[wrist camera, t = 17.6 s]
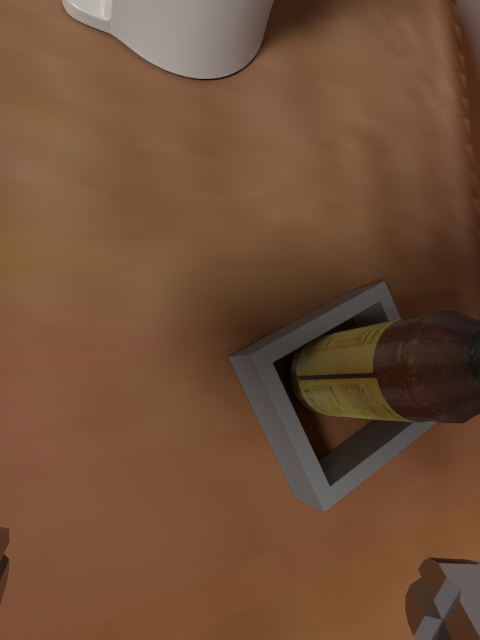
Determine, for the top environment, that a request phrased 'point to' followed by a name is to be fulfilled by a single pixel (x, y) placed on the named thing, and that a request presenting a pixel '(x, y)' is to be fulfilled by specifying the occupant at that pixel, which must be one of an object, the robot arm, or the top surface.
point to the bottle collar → (282, 422)
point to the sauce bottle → (394, 370)
